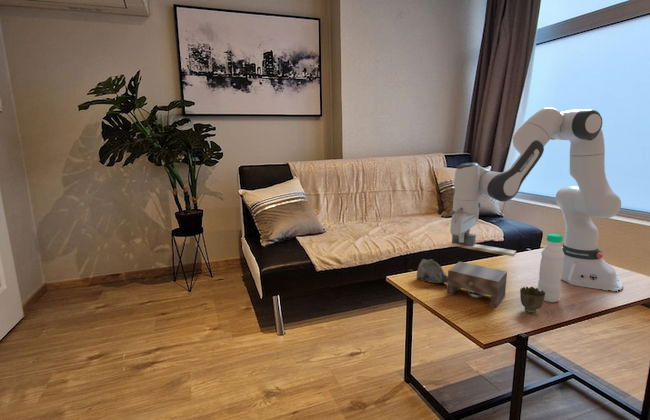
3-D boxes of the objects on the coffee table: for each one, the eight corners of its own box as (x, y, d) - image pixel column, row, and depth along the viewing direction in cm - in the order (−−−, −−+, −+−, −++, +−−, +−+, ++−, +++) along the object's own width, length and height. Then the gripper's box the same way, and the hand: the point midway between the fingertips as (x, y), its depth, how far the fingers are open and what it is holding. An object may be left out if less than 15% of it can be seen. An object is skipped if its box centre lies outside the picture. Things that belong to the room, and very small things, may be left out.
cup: (513, 309, 123) (515, 288, 121) (528, 305, 125) (530, 284, 124) (531, 319, 116) (534, 297, 114) (547, 314, 118) (550, 293, 117)
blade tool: (451, 245, 135) (451, 233, 134) (454, 242, 138) (455, 231, 137) (513, 256, 121) (514, 242, 120) (515, 253, 124) (517, 240, 123)
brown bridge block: (504, 295, 133) (507, 271, 131) (495, 308, 123) (497, 282, 121) (458, 284, 144) (459, 261, 142) (446, 294, 135) (447, 270, 133)
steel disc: (484, 295, 135) (484, 291, 134) (480, 299, 131) (480, 296, 130) (471, 291, 138) (471, 288, 137) (466, 296, 134) (467, 292, 134)
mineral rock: (452, 286, 142) (453, 263, 140) (429, 290, 140) (430, 266, 137) (435, 275, 154) (436, 253, 152) (413, 278, 152) (414, 256, 150)
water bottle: (533, 298, 131) (540, 234, 125) (541, 292, 135) (548, 231, 129) (554, 305, 125) (562, 238, 120) (561, 299, 129) (570, 235, 124)
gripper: (464, 211, 121) (462, 249, 124) (482, 202, 136) (480, 235, 139) (446, 210, 125) (445, 246, 128) (466, 200, 140) (464, 233, 143)
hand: (463, 240), depth 134 cm, fingers closed on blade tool, 2 cm apart
